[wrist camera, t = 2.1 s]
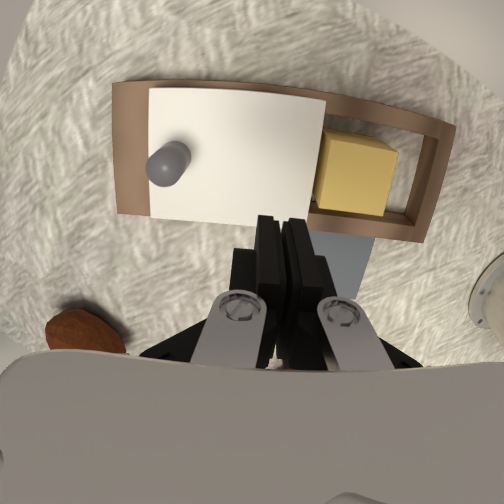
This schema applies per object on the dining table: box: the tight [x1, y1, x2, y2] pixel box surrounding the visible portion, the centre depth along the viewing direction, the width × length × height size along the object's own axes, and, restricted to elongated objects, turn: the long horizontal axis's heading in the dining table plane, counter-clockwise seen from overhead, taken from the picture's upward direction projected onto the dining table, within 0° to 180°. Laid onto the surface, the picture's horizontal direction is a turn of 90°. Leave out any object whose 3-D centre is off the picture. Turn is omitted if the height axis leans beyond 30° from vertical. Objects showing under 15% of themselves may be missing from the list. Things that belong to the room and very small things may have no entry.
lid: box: [146, 87, 326, 229], centre depth 21 cm, size 12×10×4 cm
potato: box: [45, 308, 126, 354], centre depth 33 cm, size 8×11×8 cm
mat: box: [308, 230, 375, 299], centre depth 31 cm, size 8×8×1 cm
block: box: [312, 128, 399, 216], centre depth 23 cm, size 5×5×5 cm
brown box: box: [112, 80, 456, 243], centre depth 24 cm, size 27×11×2 cm, turn 85°
